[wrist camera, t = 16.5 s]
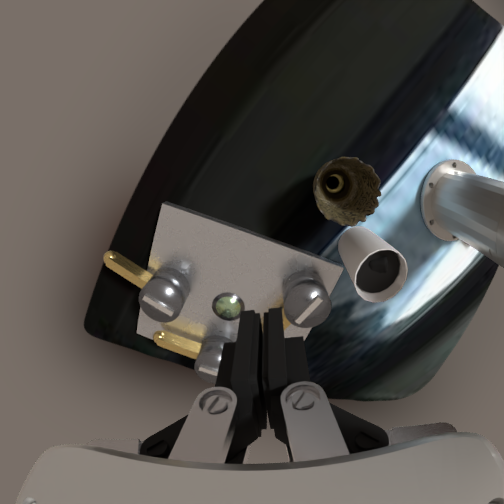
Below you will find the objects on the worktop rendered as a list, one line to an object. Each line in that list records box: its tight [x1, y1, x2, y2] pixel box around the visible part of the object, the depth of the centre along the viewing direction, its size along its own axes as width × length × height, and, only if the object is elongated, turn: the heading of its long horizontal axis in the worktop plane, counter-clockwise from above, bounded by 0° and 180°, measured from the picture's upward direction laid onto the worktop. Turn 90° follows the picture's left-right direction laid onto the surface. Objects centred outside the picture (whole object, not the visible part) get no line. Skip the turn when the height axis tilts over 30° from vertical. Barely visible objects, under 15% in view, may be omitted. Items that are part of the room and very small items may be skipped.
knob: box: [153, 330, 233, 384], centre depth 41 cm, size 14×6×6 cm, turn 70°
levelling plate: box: [137, 201, 344, 343], centre depth 41 cm, size 26×23×2 cm
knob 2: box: [262, 270, 331, 331], centre depth 38 cm, size 14×6×6 cm, turn 143°
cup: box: [313, 157, 381, 227], centre depth 32 cm, size 8×7×8 cm
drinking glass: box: [338, 226, 408, 303], centre depth 34 cm, size 7×7×10 cm
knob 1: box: [104, 251, 190, 323], centre depth 37 cm, size 14×6×6 cm, turn 58°
